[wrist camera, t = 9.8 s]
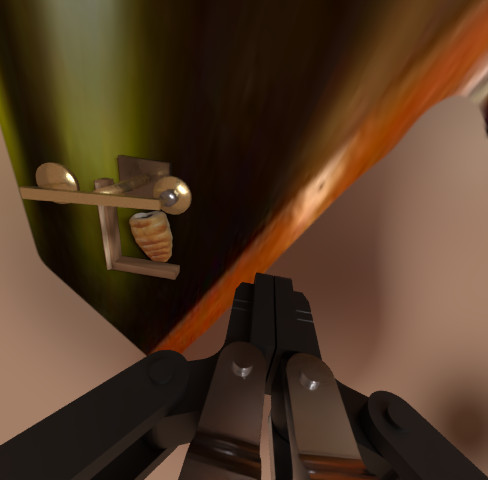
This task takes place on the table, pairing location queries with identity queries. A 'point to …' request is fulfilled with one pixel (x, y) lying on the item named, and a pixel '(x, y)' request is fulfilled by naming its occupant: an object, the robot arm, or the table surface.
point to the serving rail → (114, 247)
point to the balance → (116, 187)
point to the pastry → (153, 234)
